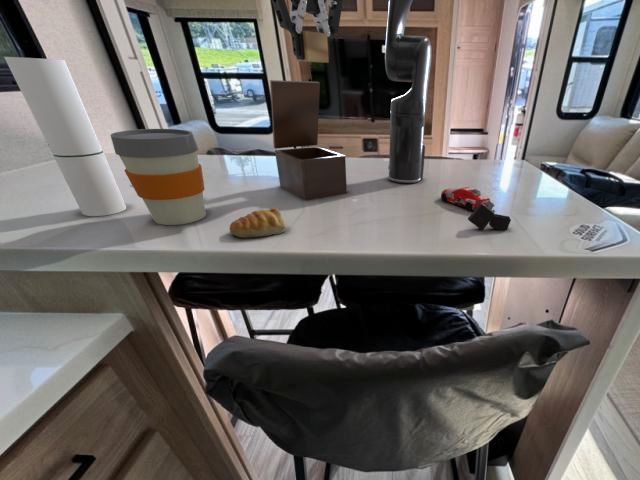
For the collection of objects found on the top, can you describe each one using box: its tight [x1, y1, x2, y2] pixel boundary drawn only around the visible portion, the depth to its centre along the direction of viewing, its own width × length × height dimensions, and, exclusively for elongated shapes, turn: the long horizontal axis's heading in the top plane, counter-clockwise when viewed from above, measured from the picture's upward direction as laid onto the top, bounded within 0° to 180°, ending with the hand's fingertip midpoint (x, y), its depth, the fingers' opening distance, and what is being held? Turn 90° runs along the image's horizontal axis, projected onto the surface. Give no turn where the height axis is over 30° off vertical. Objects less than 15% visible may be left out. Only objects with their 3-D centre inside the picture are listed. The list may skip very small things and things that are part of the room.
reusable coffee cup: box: [110, 128, 207, 226], centre depth 62 cm, size 13×13×15 cm
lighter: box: [467, 201, 512, 231], centre depth 68 cm, size 8×2×5 cm
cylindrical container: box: [3, 56, 127, 217], centre depth 61 cm, size 7×7×25 cm
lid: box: [269, 79, 321, 150], centre depth 81 cm, size 14×12×5 cm
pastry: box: [229, 207, 287, 239], centre depth 61 cm, size 9×7×4 cm
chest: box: [274, 145, 348, 201], centre depth 83 cm, size 14×12×9 cm
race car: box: [440, 186, 491, 212], centre depth 80 cm, size 13×5×4 cm, turn 39°
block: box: [296, 30, 330, 64], centre depth 63 cm, size 4×4×4 cm
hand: (312, 59), depth 64 cm, fingers closed on block, 4 cm apart
